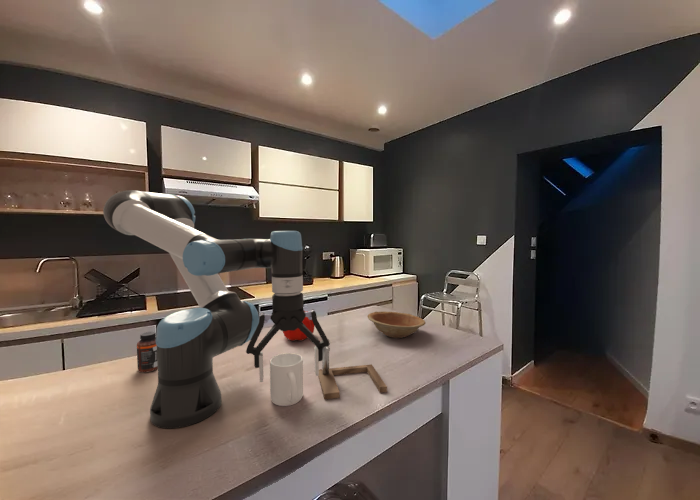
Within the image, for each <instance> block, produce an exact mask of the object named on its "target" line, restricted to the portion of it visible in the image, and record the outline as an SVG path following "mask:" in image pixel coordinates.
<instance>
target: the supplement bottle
mask: <svg viewBox="0 0 700 500" xmlns="http://www.w3.org/2000/svg"><path fill="white" fill-rule="evenodd" d="M156 334H157V332H155V331H146V332H145V331H144V332H142V333H141V334H140V335H139V339H140V340H138V341H137V342H136V343H137V344H136V357H137V358H136V360H137V371H138V372H139V373H149V372H153V371H156V370H158V365H157V345H156Z"/></svg>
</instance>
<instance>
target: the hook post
mask: <svg viewBox="0 0 700 500" xmlns="http://www.w3.org/2000/svg"><path fill="white" fill-rule="evenodd" d="M327 339H328V341H329V342H330V339H329V338H327ZM321 341H323V340H322V339H321ZM330 351H331V348H330V345H329V346H326V347H324V348H323V360H322V361H321V363H322V364H321V369H322V374H323V375H328V374H329V369H330Z"/></svg>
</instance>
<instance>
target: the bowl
mask: <svg viewBox="0 0 700 500" xmlns="http://www.w3.org/2000/svg"><path fill="white" fill-rule="evenodd" d="M367 319H368V320H369V321H371V322H372V324H373V325H374V326H375V328H376V329H377V330H378V331H380V332H381V333H382V334H383V335H385V336H387V338H391V339H392V338H393V339H403V337H404V338H406V337H408V336H410V335H412V334H414V333H416V332H417V331H418V330H419V328H422V327H423V326H425V325H426V320H424V319H423V318H421V317H419V316H416V315H413V314H410V313H405V312H397V311H374V312H373V311H372V312H370V313H369V314H368V315H367Z"/></svg>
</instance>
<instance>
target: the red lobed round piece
mask: <svg viewBox="0 0 700 500" xmlns="http://www.w3.org/2000/svg"><path fill="white" fill-rule="evenodd" d="M307 311H308V310H304V312H307ZM302 322H303V324H304V325H305V326H306V327H307V328H308V329H309V330H310V331H311V332H312V333H313V334H314V332H315V326H314V324H313V321H312V320H309V318H308V317H305V319H304V320H303V321H302ZM282 332H283V336H284V337H285V338H286V339H288V340H289V341H293V342H294V341H304V340H306V339H309V338H308V337H307V336H306V335H305V334H304V333H303V332H301V331H300V329H299V328H297V329H296V330H294V331H291V330H288V331H282Z"/></svg>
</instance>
